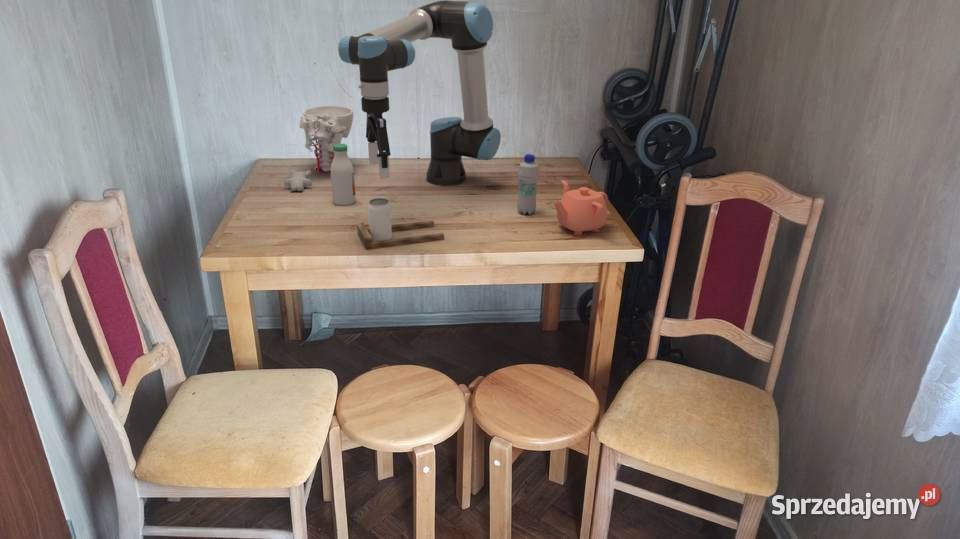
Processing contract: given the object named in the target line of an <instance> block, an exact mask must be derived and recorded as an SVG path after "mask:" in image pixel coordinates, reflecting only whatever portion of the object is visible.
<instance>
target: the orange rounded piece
mask: <svg viewBox="0 0 960 539" xmlns="http://www.w3.org/2000/svg"><path fill="white" fill-rule="evenodd" d="M560 181H561V183H562V187H563V194H562V197H561V199H560V200H559V199H558V200H554V201H553V204H554V207H555V212H556V219H557V221H558V223H559V224H560V225H561V228H563V229H568V230H570V231H573V235H575V236H579V237H580V236H582V235H583V232H589V231H591V232H594V233H598V232H600V228H603V226H604V225H606V223H607V220H608V209H607V202H608V195H607V194H606V192H603V191H596V190H593V189H592V188H588V187H586V186H582V187H579V188H578V189H571V188H570V185H569V184H568V182H567V181H566V180H564V179H560Z"/></svg>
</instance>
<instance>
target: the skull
mask: <svg viewBox="0 0 960 539" xmlns="http://www.w3.org/2000/svg"><path fill="white" fill-rule="evenodd" d="M353 120H354V110H353V108H350V107H347V106H340V105H321V106H320V105H319V106H314V107H310V108H307V109H304V110H303V115H301V116H300V121H299V128H300V129H303V130H304V134H305V145H304V147H305V148H306V149H307V150H309V151H310V152H314V156H315V157H316V166H315V167H314V168H313V169H314V170H317V171H316V172H317V174H320V171H321V170H322V171H323V172H324V173H329V171H331V164H332V162H333V159H334V152H333V151H334V150H333V145H335V144H342V143H341V142H342V139H343V138H344V139H347V138H348V137H349V135H350V132H351V129H352V125H353V122H354V121H353ZM314 141H315V142H314ZM312 147H314V150H313V149H312ZM316 168H317V169H316Z"/></svg>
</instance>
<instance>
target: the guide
mask: <svg viewBox="0 0 960 539" xmlns="http://www.w3.org/2000/svg"><path fill="white" fill-rule="evenodd" d="M433 227H435V221H434V220H426V221H419V222H410V223H399V224H391V229H392V232H400V231H401V232H402V231H408V230H411V231H412V230H417V229H425V228H433ZM356 230H357V236H358V238H359V239H360V242H361V245H363V247H364V249H366V250H371V249H380V248H387V247H395V246H403V245H412V244H418V243H426V242H435V241H441V240H445V234H444V233H443V232H440V233H432V234H431V233H430V234H424V235H415V236H407V237H400V238H391V239H390V240H382V241H374V242H373V241H372V237H371V235H370V227H368V228H367V227H366V225H365V223H364V222H357V223H356Z"/></svg>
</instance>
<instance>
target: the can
mask: <svg viewBox="0 0 960 539" xmlns="http://www.w3.org/2000/svg"><path fill="white" fill-rule="evenodd" d="M389 202H390V201H389V199H387V198H381V197H379V198H378V197H377V198H373V199H370V200H369V201H368V203H369V204H368V206H367V210H368V223H369V227H368V228H370V235H371V237H372V242H374V241H382V240H390V239H393V236H392V235H393V233H392V229H391V225H392V217H391V216H392V215H391V214H392V213H391V205H390V203H389Z"/></svg>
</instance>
